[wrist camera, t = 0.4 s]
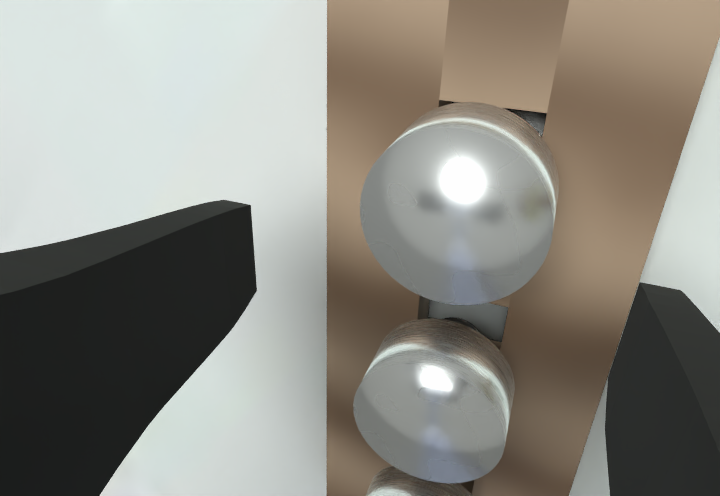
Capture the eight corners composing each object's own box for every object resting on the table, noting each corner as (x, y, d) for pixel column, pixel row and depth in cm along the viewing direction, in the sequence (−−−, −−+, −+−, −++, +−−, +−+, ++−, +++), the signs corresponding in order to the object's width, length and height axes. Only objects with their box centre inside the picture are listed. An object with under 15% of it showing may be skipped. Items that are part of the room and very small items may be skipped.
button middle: (510, 403, 20) (492, 501, 16) (391, 371, 21) (351, 456, 18) (533, 301, 18) (517, 390, 14) (398, 272, 19) (354, 347, 16)
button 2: (546, 243, 17) (532, 323, 13) (403, 216, 18) (357, 283, 15) (579, 93, 14) (573, 143, 11) (414, 75, 16) (362, 114, 12)
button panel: (539, 552, 26) (536, 593, 25) (341, 485, 29) (326, 518, 28) (744, -96, 14) (764, -100, 12) (354, -104, 16) (327, -107, 15)
